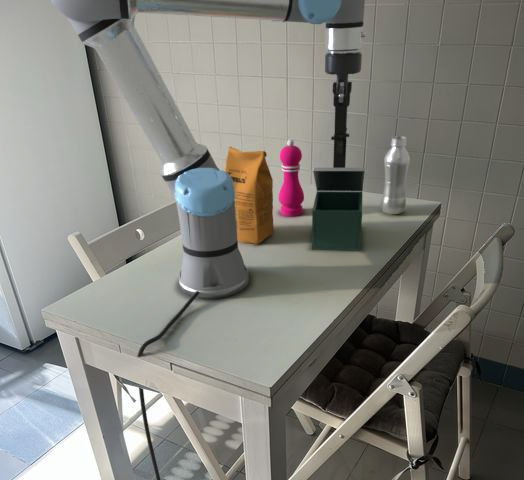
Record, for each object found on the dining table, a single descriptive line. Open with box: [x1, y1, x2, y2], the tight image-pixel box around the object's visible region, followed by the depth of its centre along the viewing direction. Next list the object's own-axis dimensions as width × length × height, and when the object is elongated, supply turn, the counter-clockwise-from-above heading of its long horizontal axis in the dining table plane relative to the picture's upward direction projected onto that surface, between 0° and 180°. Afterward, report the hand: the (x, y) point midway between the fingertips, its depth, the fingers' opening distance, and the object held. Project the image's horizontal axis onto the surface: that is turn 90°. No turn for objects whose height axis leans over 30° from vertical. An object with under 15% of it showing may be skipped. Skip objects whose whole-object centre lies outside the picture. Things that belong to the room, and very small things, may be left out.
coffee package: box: [224, 146, 275, 245], centre depth 133 cm, size 10×12×22 cm
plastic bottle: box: [380, 135, 411, 215], centre depth 143 cm, size 6×7×20 cm
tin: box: [311, 190, 363, 251], centre depth 132 cm, size 15×12×10 cm
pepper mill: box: [278, 139, 305, 217], centre depth 146 cm, size 7×7×20 cm
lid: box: [312, 167, 366, 192], centre depth 127 cm, size 15×12×1 cm
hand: (339, 168), depth 122 cm, fingers closed
